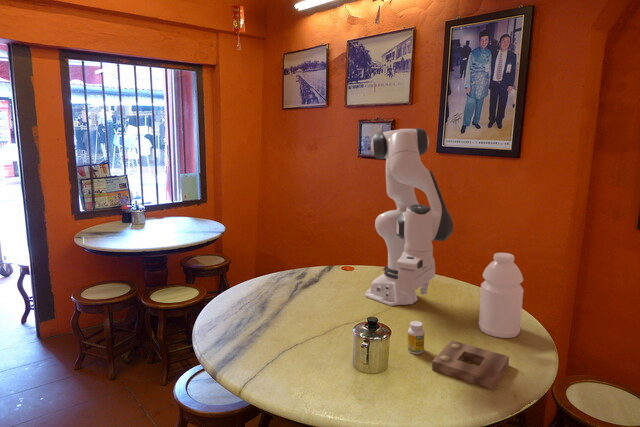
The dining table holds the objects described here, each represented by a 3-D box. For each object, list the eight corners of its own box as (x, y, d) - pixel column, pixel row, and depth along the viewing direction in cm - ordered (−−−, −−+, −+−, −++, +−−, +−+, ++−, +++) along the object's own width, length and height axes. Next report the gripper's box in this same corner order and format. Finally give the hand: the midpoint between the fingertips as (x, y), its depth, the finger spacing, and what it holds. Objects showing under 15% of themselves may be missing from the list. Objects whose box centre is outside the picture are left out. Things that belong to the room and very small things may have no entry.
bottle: (470, 325, 161) (474, 252, 156) (498, 318, 167) (503, 247, 161) (499, 342, 149) (504, 263, 143) (529, 334, 154) (535, 257, 149)
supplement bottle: (415, 345, 148) (416, 318, 146) (427, 351, 143) (428, 324, 141) (403, 349, 145) (404, 322, 143) (415, 356, 140) (416, 328, 139)
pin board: (431, 369, 133) (432, 360, 132) (451, 348, 145) (451, 339, 144) (493, 390, 122) (494, 380, 121) (508, 365, 134) (509, 355, 134)
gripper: (422, 248, 148) (421, 287, 150) (394, 263, 132) (393, 306, 134) (440, 250, 144) (439, 290, 147) (413, 266, 128) (412, 311, 131)
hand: (417, 298), depth 140 cm, fingers open, 8 cm apart
